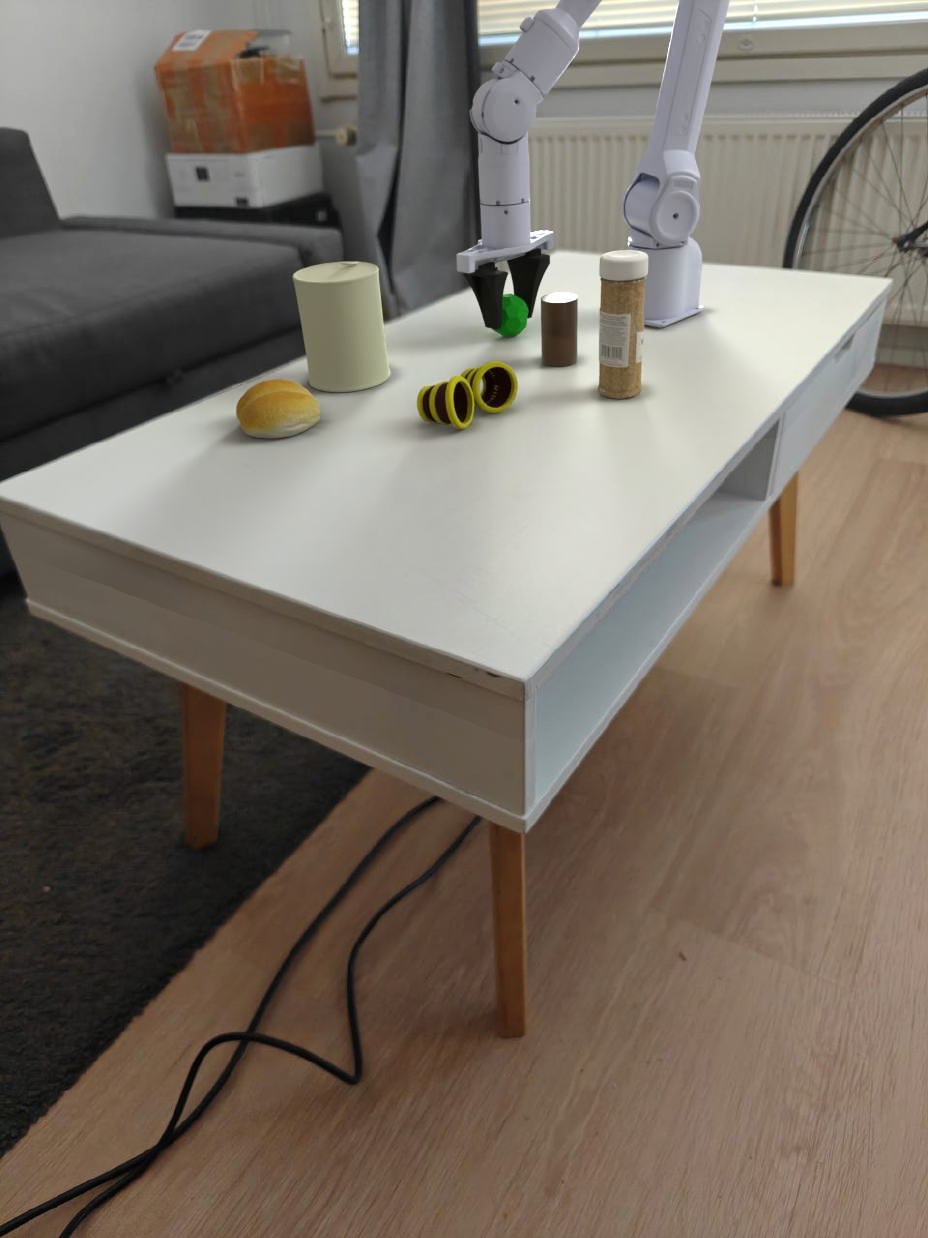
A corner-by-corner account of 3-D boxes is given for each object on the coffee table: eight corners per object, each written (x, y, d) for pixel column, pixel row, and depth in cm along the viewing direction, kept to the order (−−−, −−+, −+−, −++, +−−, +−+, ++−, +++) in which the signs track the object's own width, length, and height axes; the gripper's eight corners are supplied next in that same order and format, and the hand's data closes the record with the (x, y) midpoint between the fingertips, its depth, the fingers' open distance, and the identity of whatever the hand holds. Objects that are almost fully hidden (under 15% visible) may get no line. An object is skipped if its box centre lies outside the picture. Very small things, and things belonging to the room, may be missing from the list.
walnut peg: (557, 353, 103) (557, 290, 99) (584, 359, 101) (585, 295, 97) (534, 362, 101) (533, 298, 97) (561, 369, 98) (561, 304, 95)
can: (405, 368, 102) (394, 257, 95) (364, 395, 95) (349, 279, 89) (336, 361, 106) (321, 254, 99) (293, 388, 99) (273, 275, 92)
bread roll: (248, 447, 85) (239, 407, 83) (234, 417, 92) (226, 379, 90) (331, 431, 87) (325, 391, 85) (312, 402, 95) (306, 365, 92)
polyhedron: (481, 334, 111) (479, 295, 108) (515, 326, 113) (514, 287, 110) (502, 343, 107) (501, 303, 105) (536, 335, 109) (536, 295, 107)
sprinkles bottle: (651, 392, 91) (659, 253, 83) (617, 403, 89) (622, 261, 81) (620, 381, 94) (625, 246, 87) (587, 391, 92) (589, 254, 85)
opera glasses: (485, 404, 93) (476, 356, 91) (522, 405, 89) (514, 355, 87) (419, 434, 88) (407, 383, 85) (456, 436, 84) (444, 383, 82)
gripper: (522, 188, 108) (525, 303, 116) (434, 209, 100) (443, 331, 108) (566, 192, 104) (566, 311, 111) (479, 214, 96) (485, 341, 103)
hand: (509, 322), depth 109 cm, fingers closed on polyhedron, 5 cm apart
